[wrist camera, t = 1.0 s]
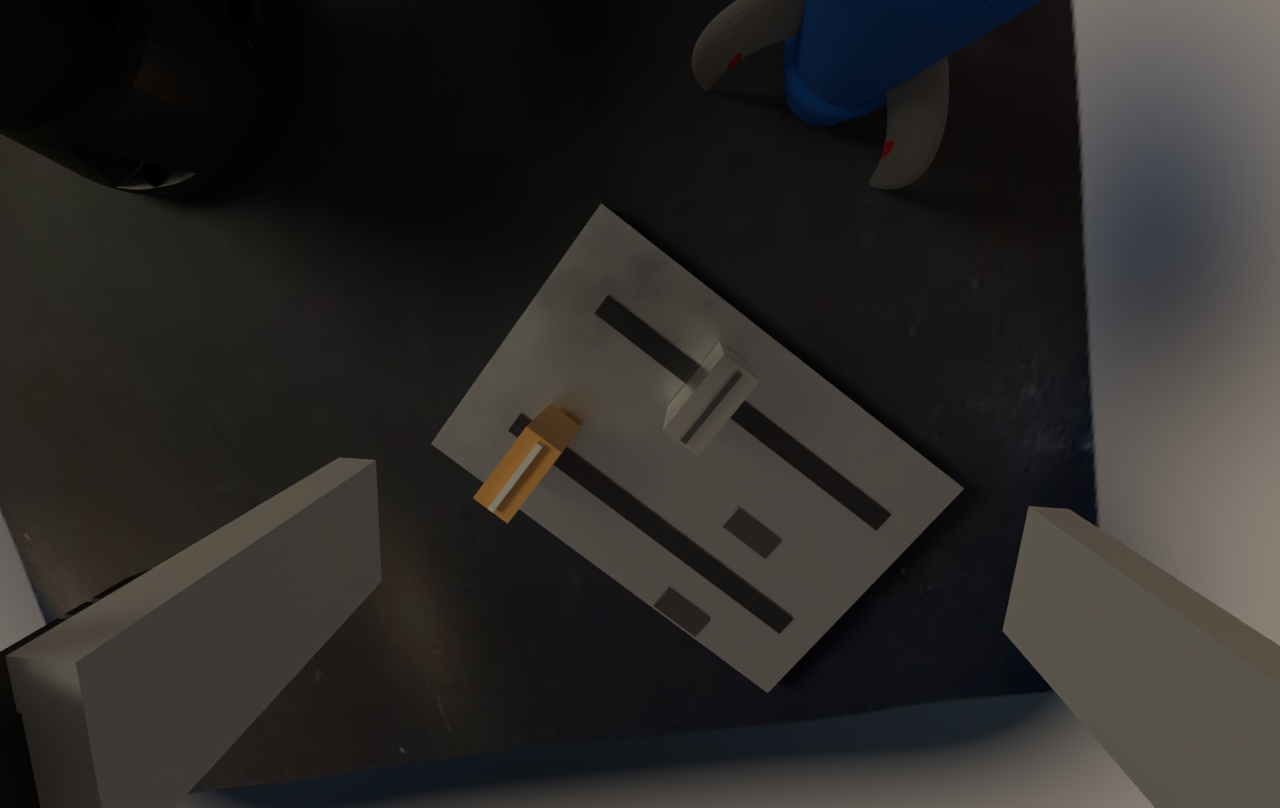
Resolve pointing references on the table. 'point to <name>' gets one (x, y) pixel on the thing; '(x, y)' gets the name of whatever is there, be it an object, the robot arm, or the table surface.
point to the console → (697, 454)
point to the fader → (526, 462)
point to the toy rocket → (859, 63)
